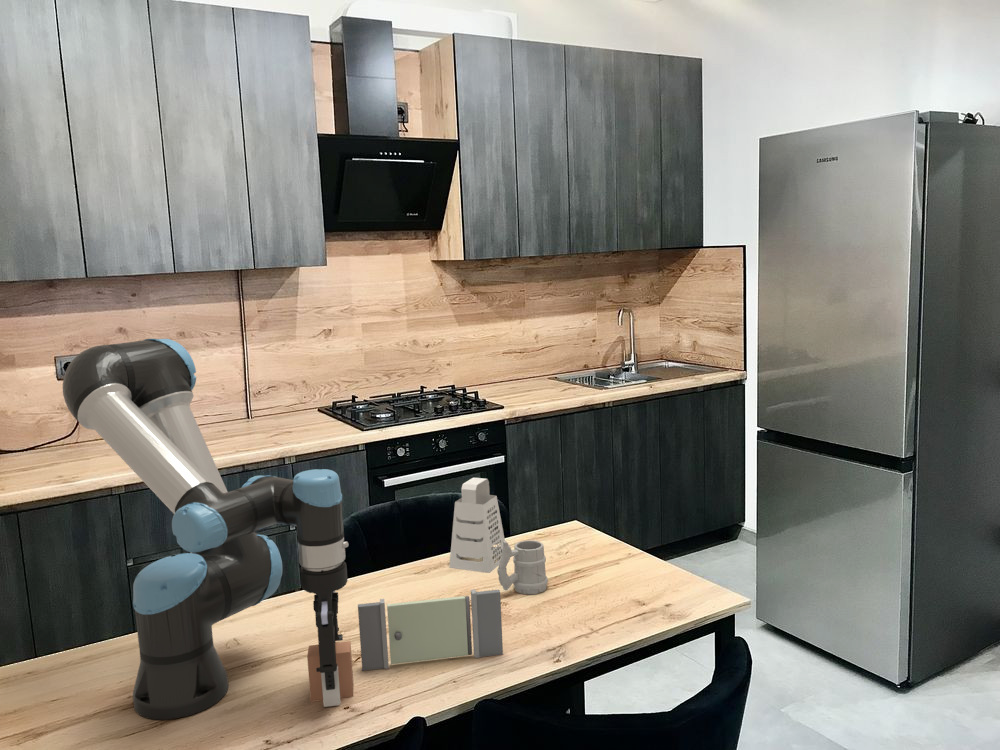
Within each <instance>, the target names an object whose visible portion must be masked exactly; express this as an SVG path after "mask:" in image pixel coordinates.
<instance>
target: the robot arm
mask: <svg viewBox="0 0 1000 750" xmlns="http://www.w3.org/2000/svg"><path fill="white" fill-rule="evenodd" d="M196 373H197V369H196V366H195V363H194V359H193V358H192V356H191V355H190V353H189V352H188V350H187V349H186V348H185V347H184V346H183V345H182V344H180V343H179V342H177V341H176V340H173V339H170V338H146V339H143V340H137V341H136V340H135V341H128V342H120V343H114V344H113V343H112V344H100V345H96V346H91V347H89V348H87V349H85V350H83V351H82V352H80V353H79V354H77V355H76V356H75V357H74V358H73V359H72V360H71V361H70V363H69V364H68V366H67V368H66V369H65V373H64V376H63V379H62V396H63V399H64V402H65V404H66V407H67V409H68V411H69V412H70V414H71V415H72V416H73V418H74V419H75V420H76V421H77V422H78V423H79V424H80V425H81V426H82V427H83V428H84V429H87V430H91V431H92V430H94V431H95V432H96V433H97V434H98V435H99V437H101V438H102V439H103V440H104V442H105V443H106V444H107V445H109V448H111V449H112V450H113V451H114V452H115V453H116V454H117V455H118V456H119V458H121V460H122V461H124V462H125V464H126V465H127V466H128V467H129V468H130V469H131V470H132V471H133V472H134V473H135V474H136V475H137V476H138V478H139V479H140V480H142V482H143V483H144V484H145V485H146V486H147V487H148V488H149V489H150V490H151V491H152V492H153V493H154V494H155V496H156V497H157V498H158V499H159V500H160V501H161V502H162V503H163V504H164V505H165V506H166V507H167V508H168V509H169V511H170V512H171V513H172V514H173V516H172V520H171V529H172V530H171V531H172V534H173V536H175V539H176V542H177V544H178V545H179V546H180V548H181V549H183V550H185V551H186V553H177V554H176V555H173V556H171V555H169V556H166V557H163V558H160V559H158V560H155V561H154V562H151V563H150V564H148V565H146V566H145V567H144V568H142V569H141V570H140V571H139V573H137V575H136V576H135V578H134V582H133V584H132V587H133V589H132V592H133V593H132V596H133V597H132V598H133V599H132V606H133V609H134V614H135V622H136V624H135V625H136V632H137V640H138V648H139V658H140V662H139V666H138V671H137V675H136V679H135V682H134V687H133V692H132V701H133V708H134V710H135V712H136V713H137V714H138V715H139V716H140V717H143V718H146V719H150V720H162V721H163V720H173V719H179V718H184V717H188V716H192V715H195V714H198V713H201V712H203V711H204V710H207V709H208V708H210V707H213V706H214V705H215V704H217V703H218V702H219V701H220V700H222V699H223V698H224V696H226V694H227V692H228V690H229V680H228V674H227V673H228V672H227V670H226V668H225V666H224V664H223V661H222V660H221V658H220V655H219V654H218V651H217V649H216V648H215V645H214V638H213V625H215V624H217V623H219V622H220V621H223V620H226V619H228V618H230V617H232V616H234V615H236V614H237V613H240V612H242V611H244V610H246V609H248V608H251V607H255V606H256V605H258V604H260V603H261V602H262V601H264V600H265V599H268V598H269V597H271V596H273V595H274V593H275V592H276V591H277V590H278V588H279V586H280V584H281V579H282V576H283V561H282V557H281V554H280V550H279V548H278V546H277V544H276V543H275V542H274V541H273V540H272V539H270V538H269V537H268V535H264V534H259V533H258V534H257V533H256V532H258V531H260V530H262V529H265V528H268V527H270V526H273V525H276V524H281V525H286V526H290V527H296V531H297V550H298V564H299V565H300V566H301V567H300V571H299V572H300V582H301V583H300V585H301V588H302V590H303V591H305V592H306V593H309V594H314V595H313V599H314V600H313V602H312V603H313V612H314V614H315V615H314V616H315V626H316V628H317V638H318V639H317V642H318V645H319V658H320V667H319V668H316V671H317V672H321V679H322V691H323V700H322V702H323V708H325V707H334V706H340V705H341V703H342V702H341V698H340V688H339V675H338V666H337V664H336V646H335V643H338V642H339V641H340V642H342V641H343V638H344V637H343V634H341V633H339V631H340V627H339V623H338V622H339V621H338V614H339V592H337V591H339V590H341V589H343V588H344V587H345V586H346V585H347V583H348V569H347V562H345V560H346V548H349V542H348V541H345V532H344V517H343V494H342V488H341V482H340V477H339V474H338V473H337V472H336V471H334V470H332V469H326V468H325V469H324V468H322V469H317V468H316V469H309V470H303V471H300V472H298V473H297V474H295V475H294V477H293V479H289V478H284V477H279V476H276V475H271V474H270V475H255V476H253V477H250V478H248V480H247V481H246V482H245V483H244V484H243V485H242V486H241V487H240V488H237V489H233V490H231V491H228V490H227V487H226V484H225V483H224V481H223V478H222V477H221V474H220V472H219V470H218V468H217V465H216V463H215V461H214V459H213V456H212V454H211V451H210V449H209V447H208V445H207V443H206V440H205V438H204V436H203V433H202V432H201V428H200V427H199V424H198V423H197V420H196V418H195V416H194V414H193V411H192V409H191V402H192V401H193V399H194V393H193V390H194V388H195V386H196V383H197V376H196V375H195V374H196Z"/></svg>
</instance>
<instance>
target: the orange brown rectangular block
mask: <svg viewBox="0 0 1000 750" xmlns="http://www.w3.org/2000/svg"><path fill="white" fill-rule="evenodd" d="M337 642H338V643H335V646H336V664H337V666H338V675H339V688H340V699H342V698H351V697H354V685H355V684H354V674H353V673H354V672H353V671H354V670H353V660H352V659H353V658H352V646H351V640H348V641H340V642H339V641H337ZM319 667H320V658H319V644H314V645H308V650H307V669H308V670H307V671H308V682H309V694H310V696H309V697H310V702H311V703H312V702H318V701H323V691H322V679H321V672H317V671H316V668H319Z"/></svg>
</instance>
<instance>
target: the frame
mask: <svg viewBox="0 0 1000 750" xmlns="http://www.w3.org/2000/svg"><path fill="white" fill-rule="evenodd" d="M501 599H502V597H501V591H500V589H492V590H483V591H482V590H481V591H476V589H470V601H471V602H470V603H471V605H470V607H471V621H472V622H471V623H472V624H471V628H472V643H473V644H472V648H473V656H474V659H480V658H482V657H492V656H499V655H504V649H503V648H504V647H503V624H502V623H503V622H502V604H501V603H502V600H501ZM385 602H386V601H385V598H379V601H378V602H377V601H376V602H368V603H358V604H357V612H358V614H357V615H358V628H359V629H358V630H359V643H360V659H361V670H362V671H363V672H366V671H373V670H379V669H380V670H381V669H384V670H388V669H390V666H389V665H390V664H389V653H388V652H389V651H388V649H389V648H388V636H387V635H388V634H387V621H386V617H387V616H386V606H385V605H386V604H385Z"/></svg>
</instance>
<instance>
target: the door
mask: <svg viewBox="0 0 1000 750" xmlns="http://www.w3.org/2000/svg"><path fill="white" fill-rule="evenodd" d="M470 601H471V598H470V595H466V596H464V595H461V596H453V597H443V598H433V599H424V600H415V601H414V600H413V601H406V602H404V601H403V602H395V603H387V604H386V610H387V611H386V613H387V623H388V624H387V625H388V627H387V629H388V641H389V654H390V657H389V658H390V665H398V664H399V665H400V664H406V663H407V664H408V663H415V662H417V663H418V662H424V661H433V660H440V659H441V660H442V659H451V658H459V657H466V656H467V657H468V656H472V654H473V644H472V643H473V639H472V624H471V623H472V622H471V621H472V619H471V605H470V603H471V602H470Z"/></svg>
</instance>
